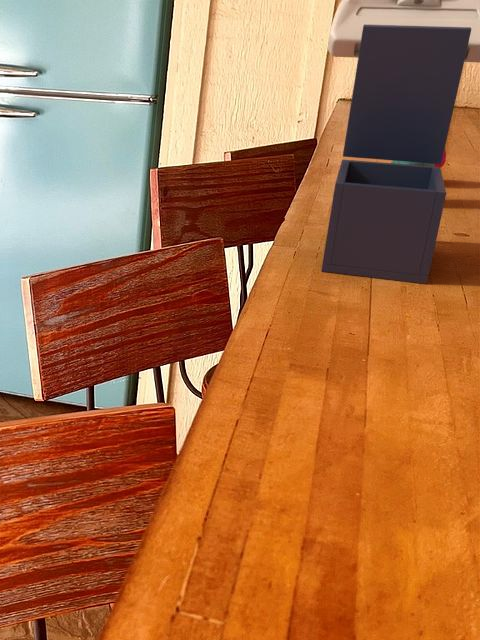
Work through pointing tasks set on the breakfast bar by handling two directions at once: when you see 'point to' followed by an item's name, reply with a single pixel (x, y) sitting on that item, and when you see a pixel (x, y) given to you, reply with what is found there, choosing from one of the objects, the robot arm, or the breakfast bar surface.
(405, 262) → the chest
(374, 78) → the chest lid
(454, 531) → the breakfast bar surface
